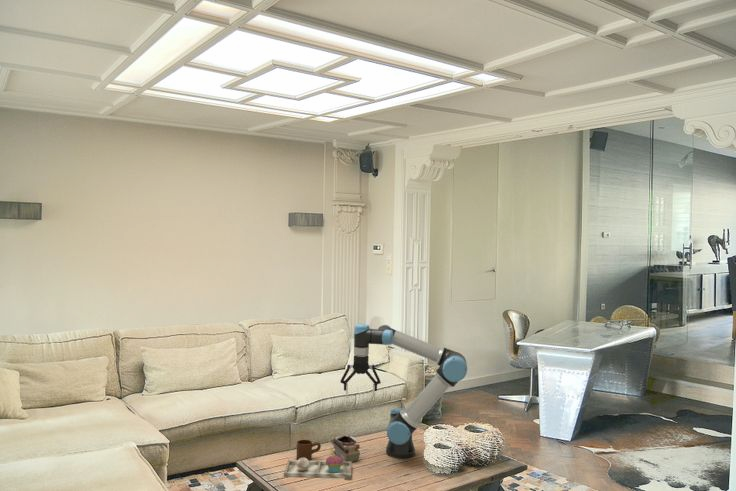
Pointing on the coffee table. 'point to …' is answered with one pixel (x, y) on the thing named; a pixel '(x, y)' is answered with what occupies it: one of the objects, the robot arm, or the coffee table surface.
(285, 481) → the coffee table surface
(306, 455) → the mug
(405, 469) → the coffee table surface
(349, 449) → the decorative box
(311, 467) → the divided tray
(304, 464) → the wooden egg
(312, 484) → the coffee table surface
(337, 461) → the cupcake
